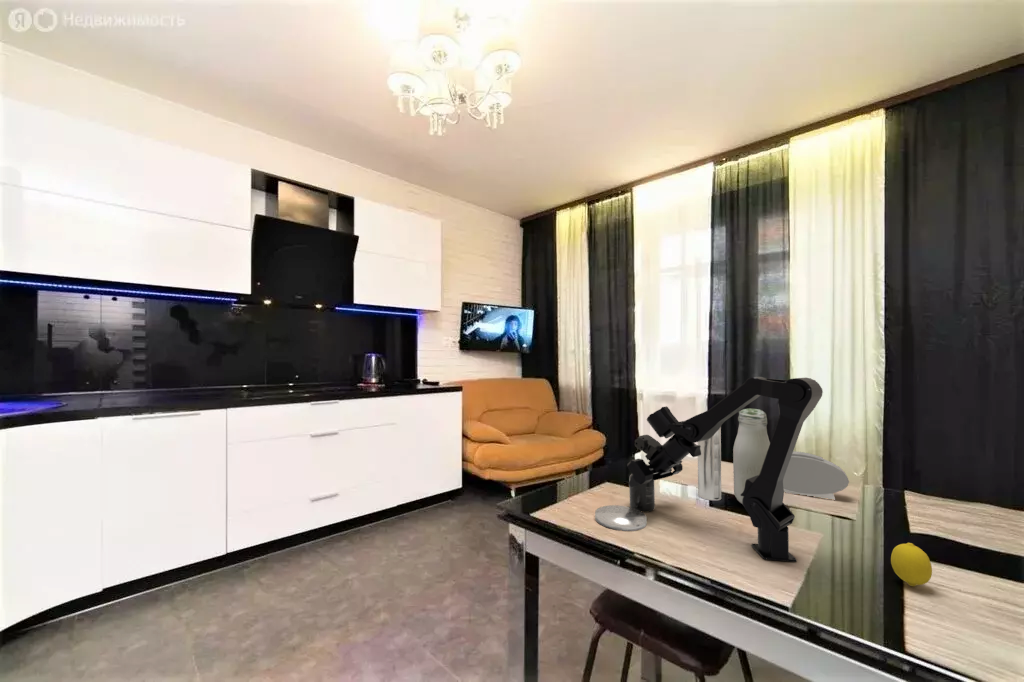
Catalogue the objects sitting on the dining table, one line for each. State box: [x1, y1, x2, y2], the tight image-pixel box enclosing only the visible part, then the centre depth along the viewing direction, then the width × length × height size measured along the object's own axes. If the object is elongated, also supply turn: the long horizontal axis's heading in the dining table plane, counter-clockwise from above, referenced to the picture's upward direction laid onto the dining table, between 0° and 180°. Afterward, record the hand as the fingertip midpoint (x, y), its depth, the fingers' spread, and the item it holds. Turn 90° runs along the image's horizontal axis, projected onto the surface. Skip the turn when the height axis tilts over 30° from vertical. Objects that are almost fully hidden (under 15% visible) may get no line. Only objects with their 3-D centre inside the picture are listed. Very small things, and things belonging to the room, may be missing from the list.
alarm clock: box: [783, 450, 850, 501], centre depth 129 cm, size 23×6×13 cm, turn 57°
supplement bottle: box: [628, 463, 656, 512], centre depth 115 cm, size 7×7×12 cm
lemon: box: [890, 542, 933, 587], centre depth 77 cm, size 6×6×8 cm
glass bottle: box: [732, 408, 771, 505], centre depth 117 cm, size 10×10×28 cm
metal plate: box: [594, 504, 648, 532], centre depth 106 cm, size 13×13×2 cm
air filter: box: [697, 426, 722, 501], centre depth 125 cm, size 6×6×25 cm
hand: (637, 483), depth 116 cm, fingers closed on supplement bottle, 7 cm apart
